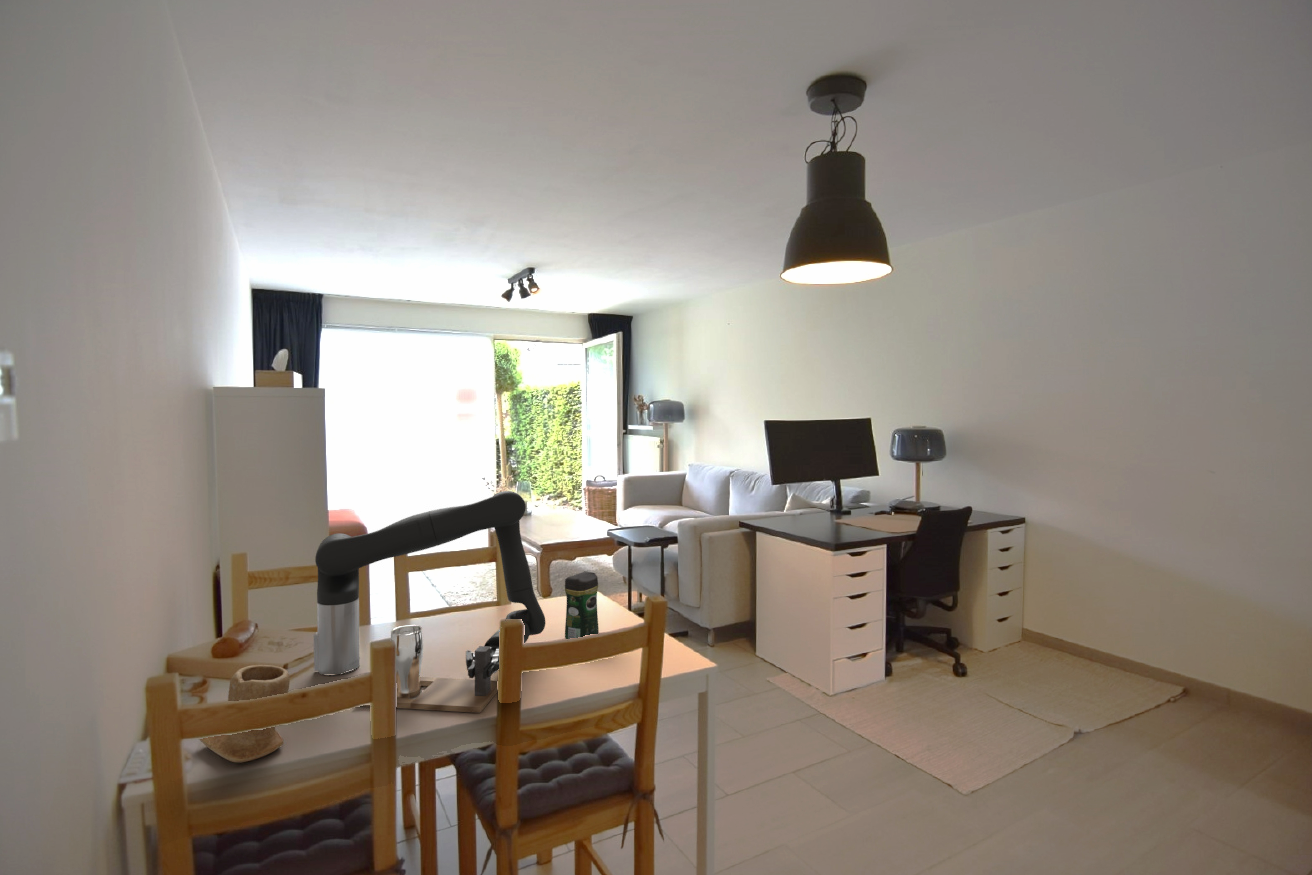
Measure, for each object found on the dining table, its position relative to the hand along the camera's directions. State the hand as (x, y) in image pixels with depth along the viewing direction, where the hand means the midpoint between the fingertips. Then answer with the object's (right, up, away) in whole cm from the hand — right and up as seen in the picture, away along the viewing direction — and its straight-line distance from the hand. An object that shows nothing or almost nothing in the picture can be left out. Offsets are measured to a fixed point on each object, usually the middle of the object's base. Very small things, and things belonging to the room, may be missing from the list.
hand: (477, 674), depth 137 cm
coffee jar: (+18, -6, +42) cm, 46 cm away
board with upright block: (-12, -7, +4) cm, 14 cm away
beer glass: (-17, -7, +5) cm, 19 cm away
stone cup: (-39, -8, -17) cm, 43 cm away
